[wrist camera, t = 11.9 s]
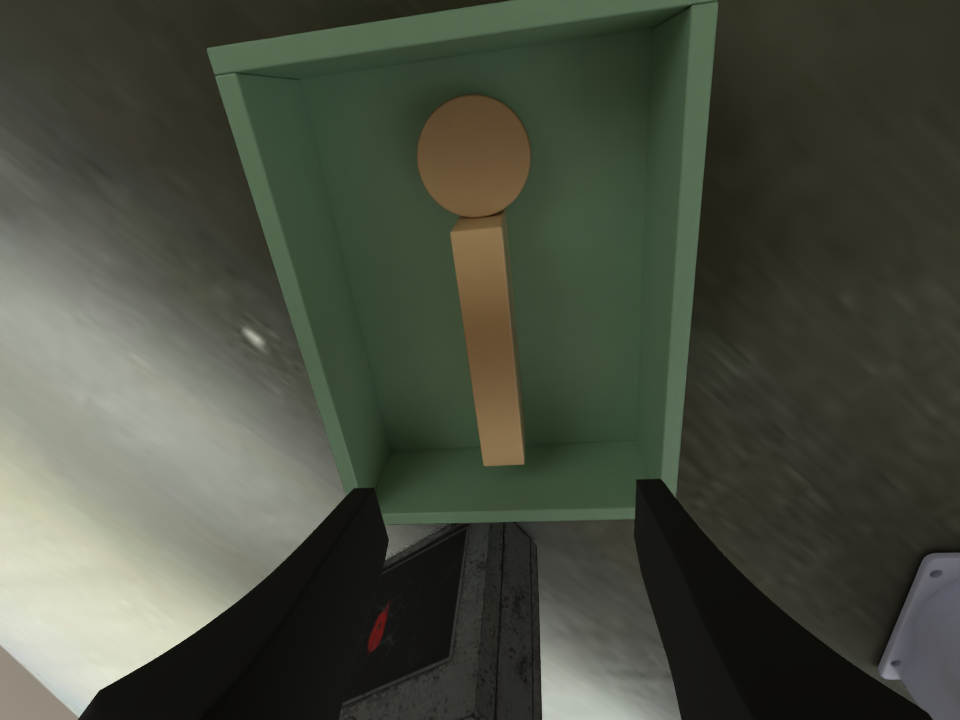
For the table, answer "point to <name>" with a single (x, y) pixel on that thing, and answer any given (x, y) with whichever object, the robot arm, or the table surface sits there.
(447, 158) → the spoon
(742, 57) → the table surface
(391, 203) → the green storage tray
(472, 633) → the camera
